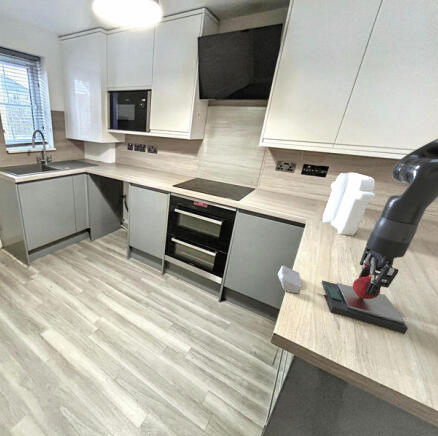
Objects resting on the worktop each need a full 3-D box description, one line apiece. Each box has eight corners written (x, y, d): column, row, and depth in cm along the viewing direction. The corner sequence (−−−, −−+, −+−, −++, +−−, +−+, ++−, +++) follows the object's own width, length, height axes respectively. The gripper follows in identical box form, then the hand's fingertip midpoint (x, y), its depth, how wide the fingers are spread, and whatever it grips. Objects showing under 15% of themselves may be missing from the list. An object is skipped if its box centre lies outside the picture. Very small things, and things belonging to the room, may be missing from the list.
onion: (378, 307, 65) (390, 283, 62) (353, 301, 67) (364, 278, 64) (368, 295, 70) (379, 272, 67) (345, 289, 72) (355, 267, 69)
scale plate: (383, 297, 71) (385, 294, 71) (403, 324, 61) (405, 321, 60) (335, 285, 76) (336, 282, 75) (347, 308, 65) (348, 305, 65)
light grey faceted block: (291, 301, 75) (302, 292, 71) (272, 290, 77) (281, 281, 73) (294, 278, 82) (304, 269, 78) (276, 269, 84) (285, 260, 80)
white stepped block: (367, 240, 117) (393, 180, 106) (342, 237, 118) (365, 178, 108) (337, 221, 142) (356, 171, 131) (316, 218, 143) (333, 169, 133)
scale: (381, 301, 72) (385, 294, 71) (404, 334, 60) (409, 326, 60) (320, 285, 78) (322, 279, 78) (330, 312, 67) (333, 305, 66)
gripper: (427, 250, 53) (395, 308, 60) (396, 228, 66) (372, 279, 72) (384, 242, 56) (358, 299, 62) (363, 223, 69) (342, 272, 75)
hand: (366, 288), depth 67 cm, fingers closed on onion, 6 cm apart
